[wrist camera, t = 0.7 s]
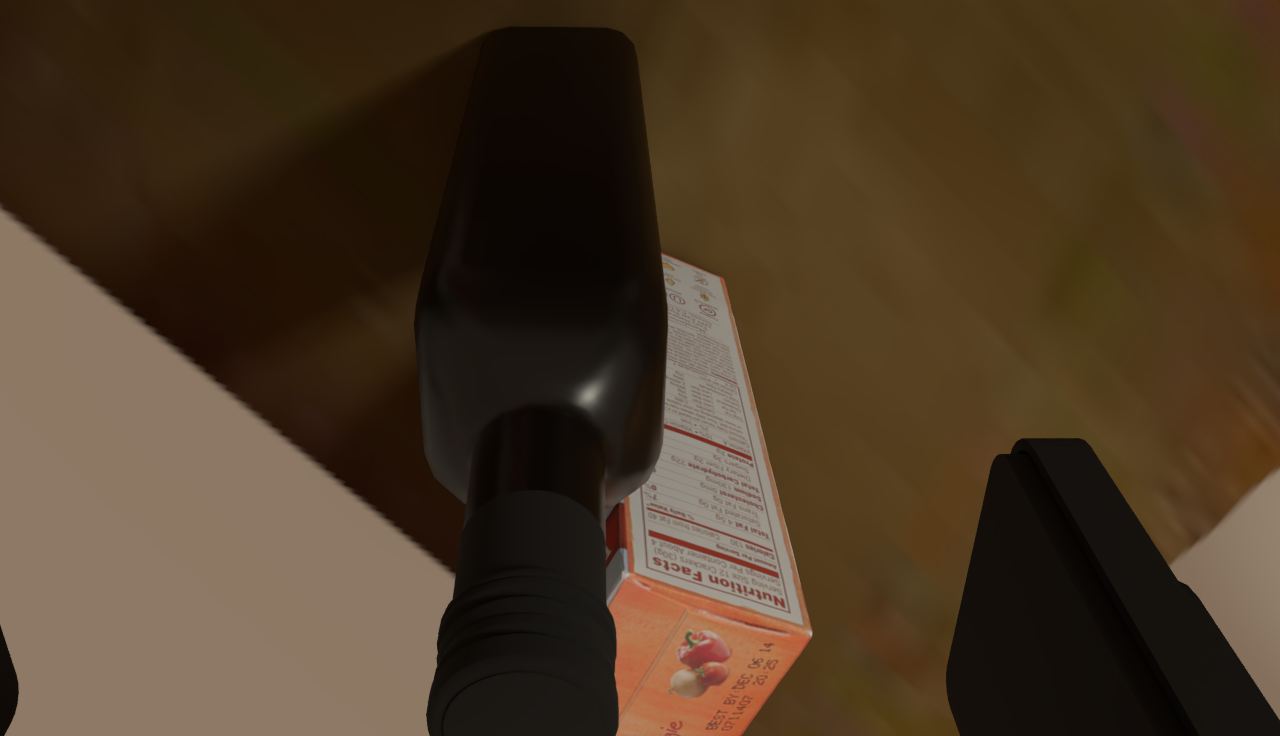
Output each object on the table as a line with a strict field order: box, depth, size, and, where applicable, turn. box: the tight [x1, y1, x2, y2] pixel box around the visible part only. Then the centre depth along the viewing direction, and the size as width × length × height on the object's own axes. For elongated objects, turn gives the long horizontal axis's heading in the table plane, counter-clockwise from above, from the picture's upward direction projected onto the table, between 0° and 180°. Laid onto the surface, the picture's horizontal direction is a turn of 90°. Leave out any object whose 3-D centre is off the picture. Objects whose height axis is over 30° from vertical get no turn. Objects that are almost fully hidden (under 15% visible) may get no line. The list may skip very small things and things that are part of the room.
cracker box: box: [605, 252, 813, 736], centre depth 42 cm, size 14×6×21 cm, turn 155°
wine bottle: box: [414, 27, 668, 736], centre depth 31 cm, size 6×6×30 cm
